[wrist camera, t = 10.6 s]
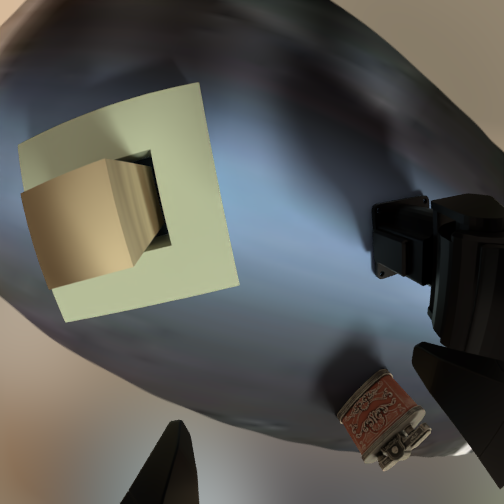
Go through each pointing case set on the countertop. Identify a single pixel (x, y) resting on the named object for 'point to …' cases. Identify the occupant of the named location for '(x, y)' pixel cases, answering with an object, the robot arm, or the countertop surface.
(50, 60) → the countertop surface
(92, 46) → the countertop surface
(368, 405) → the lighter
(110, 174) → the peg
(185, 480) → the robot arm
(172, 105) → the well holder
